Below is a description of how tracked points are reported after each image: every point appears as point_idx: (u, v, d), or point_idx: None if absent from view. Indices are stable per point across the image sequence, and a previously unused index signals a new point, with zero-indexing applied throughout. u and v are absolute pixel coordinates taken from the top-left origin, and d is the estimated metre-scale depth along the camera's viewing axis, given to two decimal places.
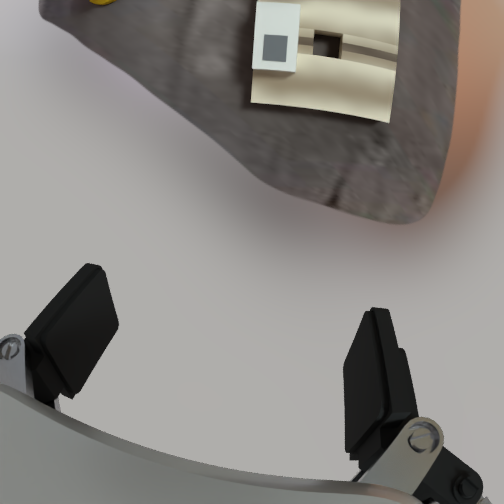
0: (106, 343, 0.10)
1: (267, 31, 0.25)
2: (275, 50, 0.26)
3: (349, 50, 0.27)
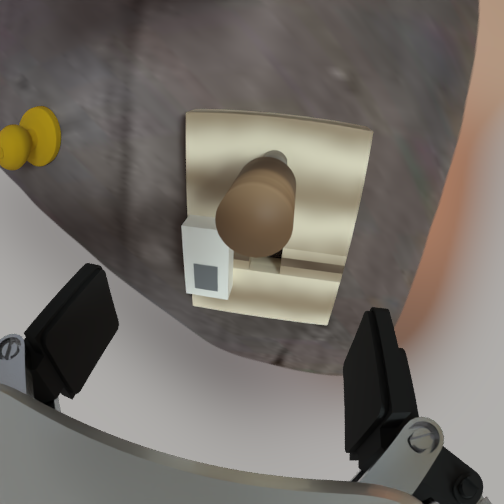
0: (106, 343, 0.10)
1: (196, 260, 0.29)
2: (206, 280, 0.30)
3: (289, 264, 0.31)
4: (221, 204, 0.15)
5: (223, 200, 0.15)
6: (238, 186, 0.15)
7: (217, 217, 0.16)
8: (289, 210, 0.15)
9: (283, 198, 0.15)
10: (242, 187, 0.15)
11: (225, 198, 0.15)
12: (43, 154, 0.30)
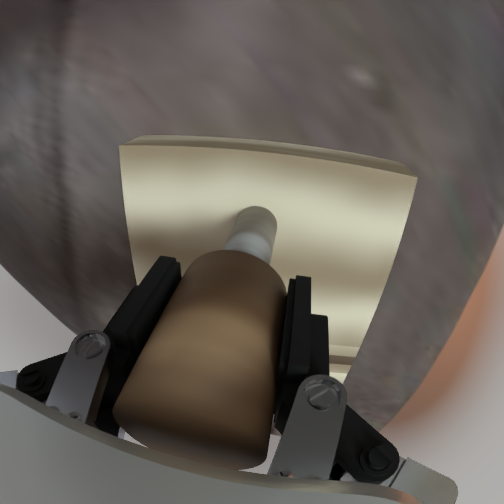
0: None
1: None
2: None
3: None
4: (117, 408, 0.06)
5: (118, 405, 0.06)
6: (143, 383, 0.06)
7: (118, 420, 0.07)
8: (258, 441, 0.06)
9: (244, 421, 0.06)
10: (146, 396, 0.06)
11: (120, 404, 0.06)
12: None
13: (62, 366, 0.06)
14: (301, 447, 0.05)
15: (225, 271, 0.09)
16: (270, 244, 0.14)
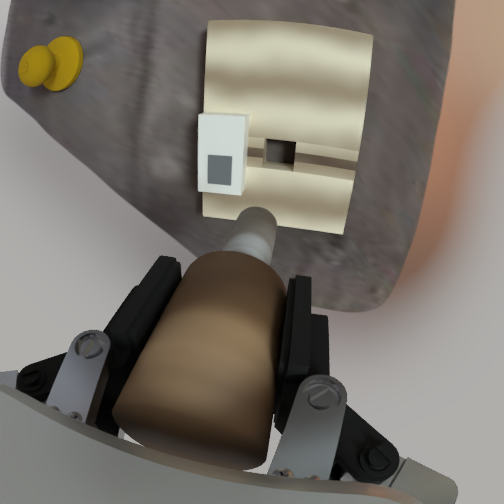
0: None
1: (211, 151, 0.28)
2: (219, 173, 0.29)
3: (302, 160, 0.30)
4: (116, 410, 0.06)
5: (117, 406, 0.06)
6: (142, 385, 0.06)
7: (118, 421, 0.07)
8: (257, 442, 0.06)
9: (244, 422, 0.06)
10: (146, 397, 0.06)
11: (120, 405, 0.06)
12: (63, 77, 0.29)
13: (62, 366, 0.06)
14: (301, 447, 0.05)
15: (225, 272, 0.09)
16: (270, 245, 0.14)
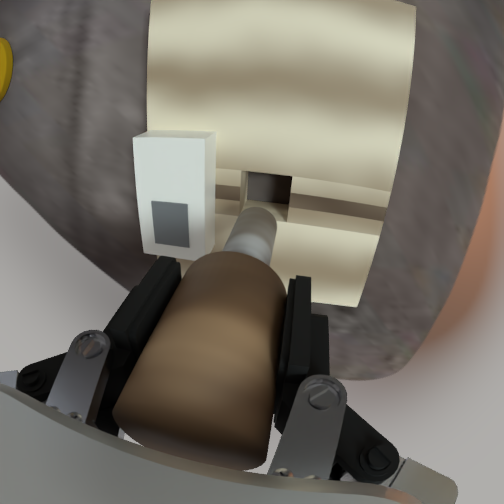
0: None
1: (155, 195, 0.18)
2: (171, 229, 0.19)
3: (302, 205, 0.19)
4: (117, 410, 0.06)
5: (118, 406, 0.06)
6: (143, 385, 0.06)
7: (119, 422, 0.07)
8: (257, 442, 0.06)
9: (243, 423, 0.06)
10: (146, 398, 0.06)
11: (120, 406, 0.06)
12: None
13: (62, 366, 0.06)
14: (301, 447, 0.05)
15: (225, 273, 0.09)
16: (270, 245, 0.14)
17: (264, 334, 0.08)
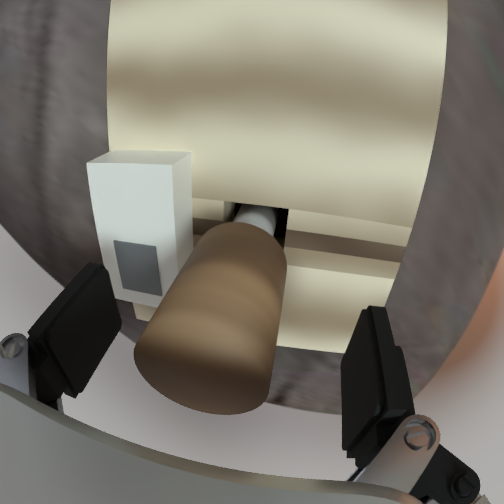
0: (109, 342, 0.10)
1: (118, 234, 0.14)
2: (139, 275, 0.15)
3: (301, 244, 0.16)
4: (138, 346, 0.08)
5: (140, 341, 0.08)
6: (164, 318, 0.08)
7: (138, 361, 0.08)
8: (261, 369, 0.07)
9: (249, 348, 0.07)
10: (168, 326, 0.07)
11: (142, 339, 0.08)
12: None
13: None
14: (382, 479, 0.04)
15: (233, 237, 0.11)
16: (272, 224, 0.16)
17: (267, 285, 0.10)
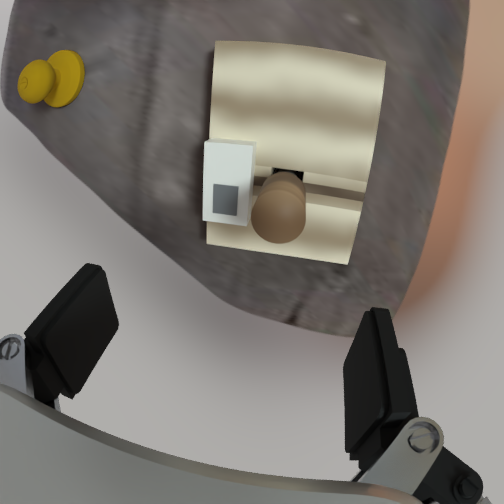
0: (106, 343, 0.10)
1: (217, 180, 0.28)
2: (225, 203, 0.29)
3: (310, 190, 0.30)
4: (256, 204, 0.22)
5: (257, 201, 0.22)
6: (268, 192, 0.22)
7: (252, 214, 0.22)
8: (303, 209, 0.22)
9: (299, 201, 0.22)
10: (271, 193, 0.21)
11: (259, 200, 0.22)
12: (64, 93, 0.29)
13: None
14: (385, 481, 0.04)
15: (284, 175, 0.25)
16: None
17: (300, 190, 0.24)
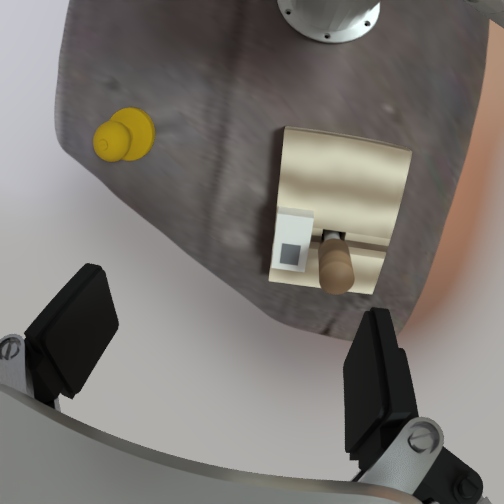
0: (106, 343, 0.10)
1: (285, 240, 0.39)
2: (290, 257, 0.40)
3: (349, 245, 0.41)
4: (323, 271, 0.33)
5: (324, 270, 0.33)
6: (331, 263, 0.33)
7: (320, 277, 0.33)
8: (353, 274, 0.32)
9: (351, 269, 0.32)
10: (334, 264, 0.32)
11: (326, 269, 0.33)
12: (136, 150, 0.40)
13: None
14: (385, 481, 0.04)
15: (337, 243, 0.36)
16: (339, 237, 0.40)
17: (349, 256, 0.35)
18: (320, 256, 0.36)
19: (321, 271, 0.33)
